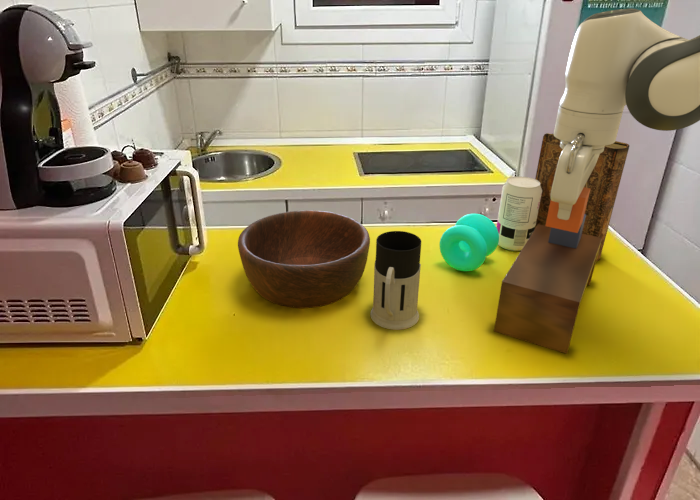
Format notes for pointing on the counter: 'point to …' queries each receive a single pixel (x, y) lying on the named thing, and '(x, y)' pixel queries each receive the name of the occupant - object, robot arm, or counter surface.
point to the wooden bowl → (304, 257)
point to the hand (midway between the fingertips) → (567, 211)
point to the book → (599, 182)
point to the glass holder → (396, 280)
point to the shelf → (546, 290)
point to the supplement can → (518, 211)
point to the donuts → (469, 242)
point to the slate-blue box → (566, 236)
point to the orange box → (576, 214)
